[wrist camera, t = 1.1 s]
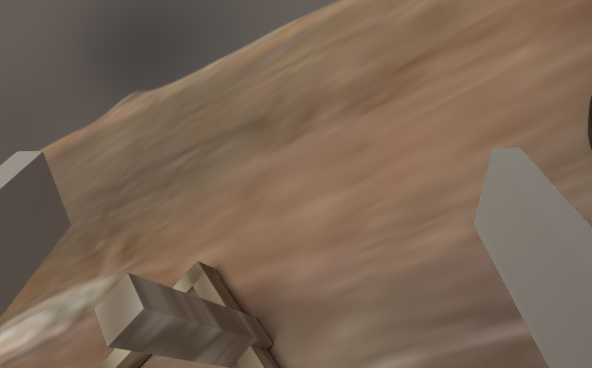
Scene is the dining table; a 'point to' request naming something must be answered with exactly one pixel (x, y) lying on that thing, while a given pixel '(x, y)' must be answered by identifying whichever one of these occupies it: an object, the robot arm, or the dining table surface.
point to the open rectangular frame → (180, 323)
